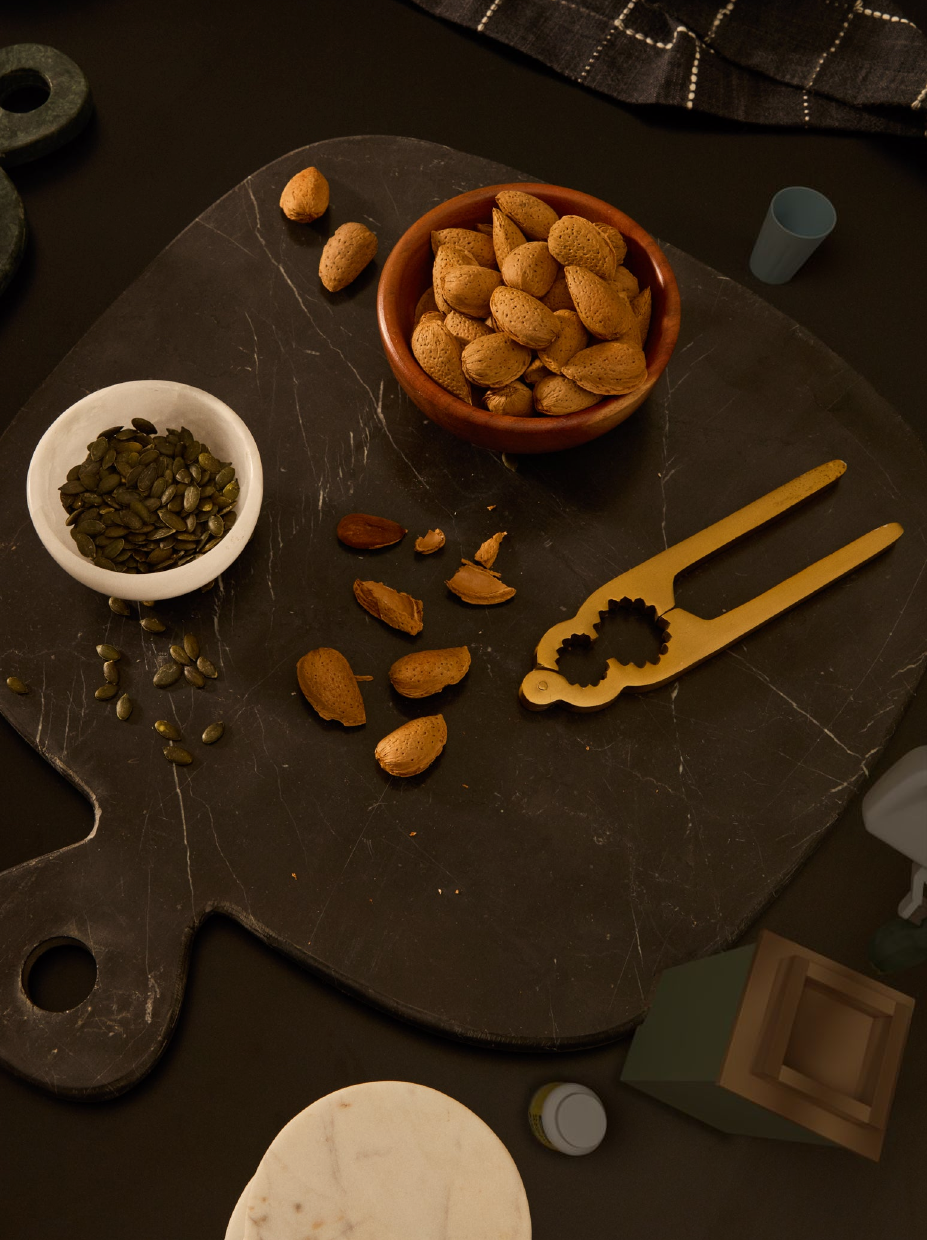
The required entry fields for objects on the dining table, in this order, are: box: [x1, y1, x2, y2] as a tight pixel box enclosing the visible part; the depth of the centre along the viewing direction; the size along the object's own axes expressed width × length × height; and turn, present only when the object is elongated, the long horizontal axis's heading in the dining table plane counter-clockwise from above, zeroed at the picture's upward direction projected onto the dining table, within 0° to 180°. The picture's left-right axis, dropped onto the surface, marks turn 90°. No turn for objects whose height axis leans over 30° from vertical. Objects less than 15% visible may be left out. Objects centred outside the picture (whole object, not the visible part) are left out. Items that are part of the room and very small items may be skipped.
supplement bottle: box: [527, 1081, 608, 1157], centre depth 98 cm, size 5×5×10 cm
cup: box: [749, 186, 837, 285], centre depth 139 cm, size 8×8×10 cm
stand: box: [619, 942, 841, 1148], centre depth 92 cm, size 10×10×28 cm
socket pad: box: [715, 928, 916, 1163], centre depth 78 cm, size 11×11×4 cm
